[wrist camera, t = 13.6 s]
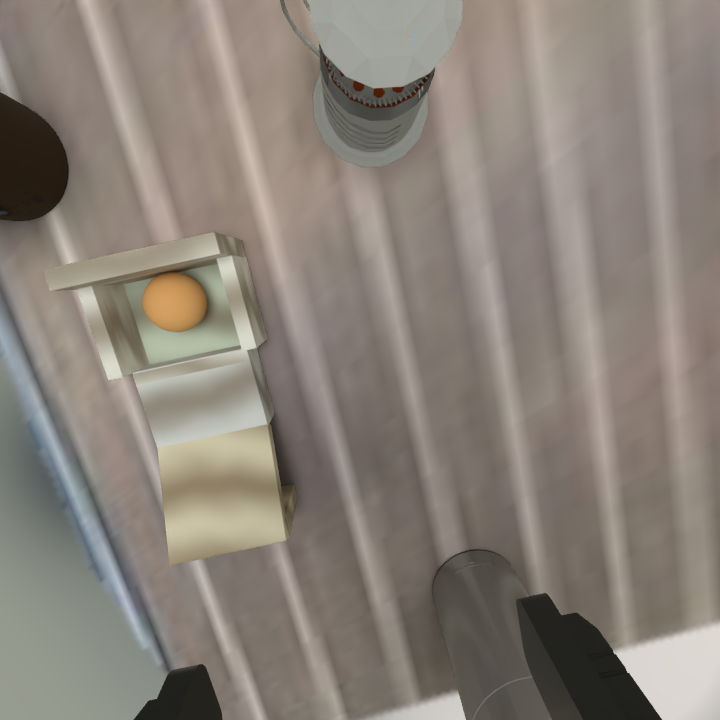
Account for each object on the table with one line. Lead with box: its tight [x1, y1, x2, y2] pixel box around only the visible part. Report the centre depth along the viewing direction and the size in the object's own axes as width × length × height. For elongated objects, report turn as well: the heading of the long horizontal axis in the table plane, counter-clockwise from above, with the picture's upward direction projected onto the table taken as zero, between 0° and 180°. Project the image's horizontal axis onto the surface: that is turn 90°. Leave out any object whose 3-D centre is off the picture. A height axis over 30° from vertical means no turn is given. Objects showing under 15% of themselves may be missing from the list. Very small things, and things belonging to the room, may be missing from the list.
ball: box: [142, 272, 207, 332], centre depth 35 cm, size 5×5×5 cm
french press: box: [280, 0, 463, 167], centre depth 23 cm, size 10×12×25 cm
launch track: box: [43, 232, 297, 565], centre depth 36 cm, size 26×12×8 cm, turn 12°
